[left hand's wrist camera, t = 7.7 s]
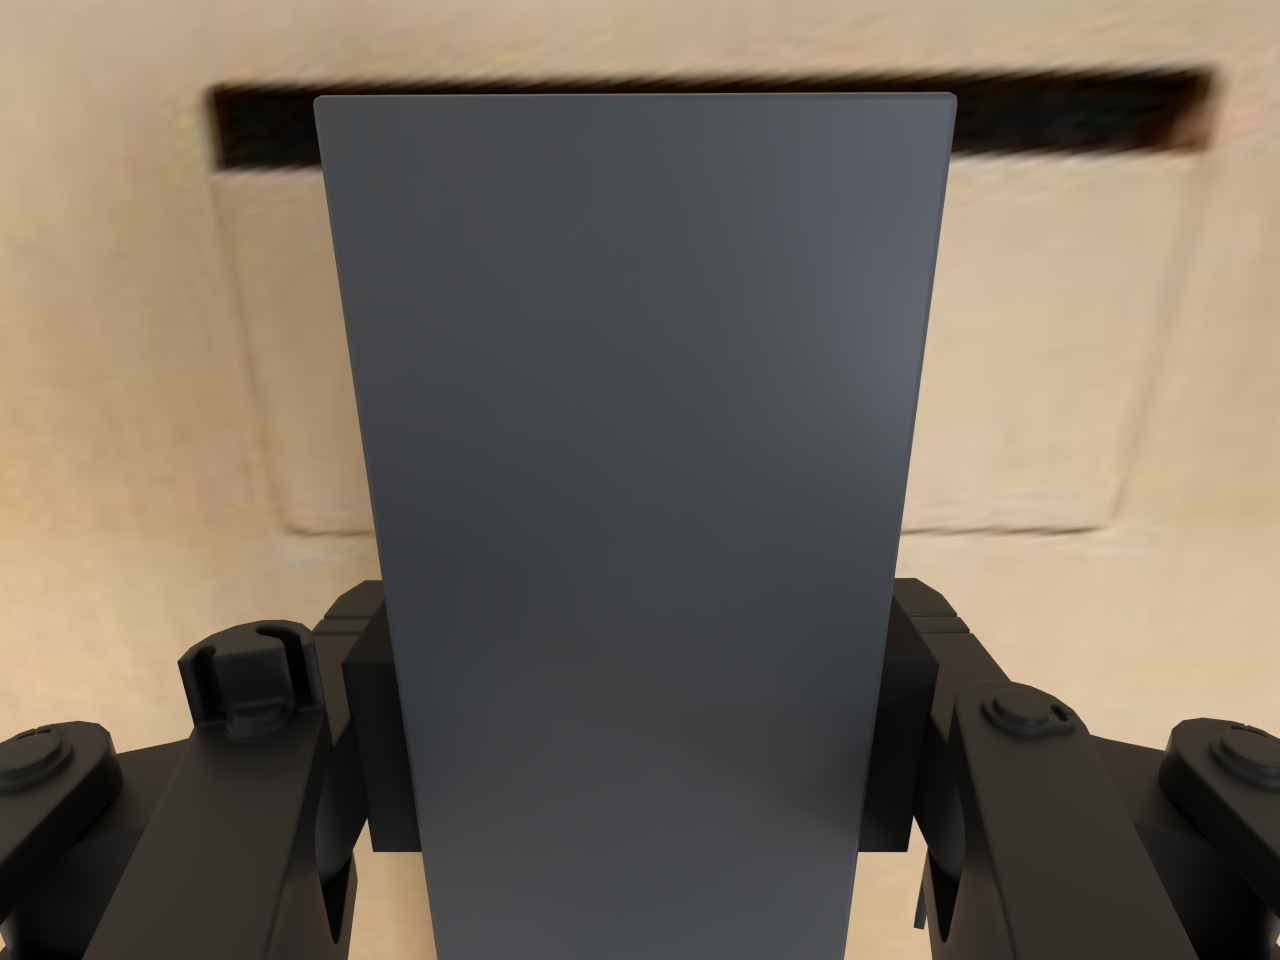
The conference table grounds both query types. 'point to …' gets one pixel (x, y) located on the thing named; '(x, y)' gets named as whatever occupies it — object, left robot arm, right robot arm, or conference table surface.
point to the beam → (637, 493)
